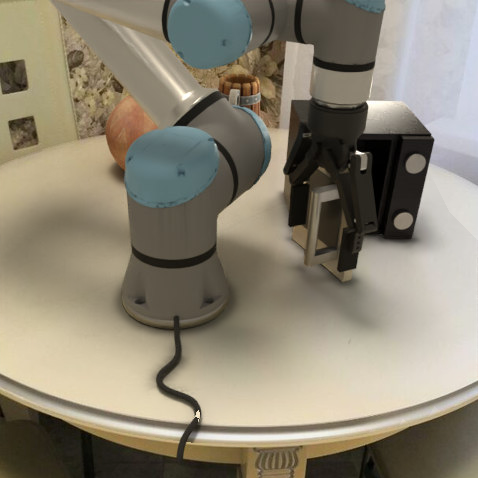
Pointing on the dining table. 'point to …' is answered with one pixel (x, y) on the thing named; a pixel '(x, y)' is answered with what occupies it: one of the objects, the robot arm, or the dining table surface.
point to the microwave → (386, 162)
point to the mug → (241, 90)
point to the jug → (126, 128)
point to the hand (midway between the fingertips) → (320, 245)
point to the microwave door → (323, 224)
